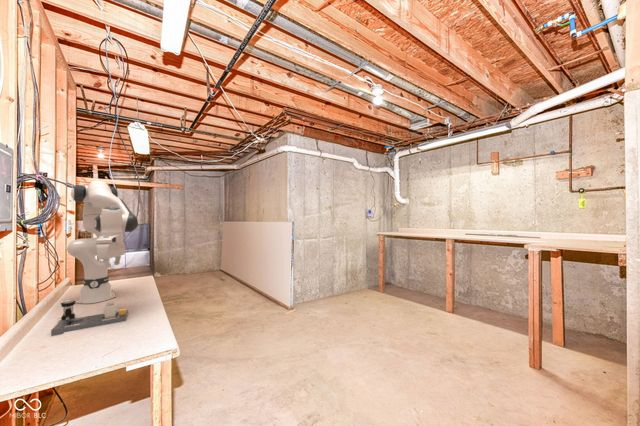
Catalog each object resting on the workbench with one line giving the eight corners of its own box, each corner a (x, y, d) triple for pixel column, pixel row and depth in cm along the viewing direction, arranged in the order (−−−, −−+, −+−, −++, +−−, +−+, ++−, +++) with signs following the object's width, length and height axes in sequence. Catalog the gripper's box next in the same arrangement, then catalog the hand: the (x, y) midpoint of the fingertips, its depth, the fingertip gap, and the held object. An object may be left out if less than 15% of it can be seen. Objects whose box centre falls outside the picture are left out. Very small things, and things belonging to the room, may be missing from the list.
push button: (55, 323, 126) (55, 303, 126) (59, 320, 131) (59, 300, 131) (74, 320, 130) (73, 300, 130) (76, 317, 134) (76, 298, 134)
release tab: (120, 317, 130) (120, 309, 130) (125, 316, 132) (125, 308, 132) (119, 318, 128) (119, 310, 128) (125, 317, 130) (125, 309, 130)
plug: (106, 320, 128) (106, 303, 128) (116, 318, 130) (116, 301, 130) (104, 323, 125) (104, 305, 125) (115, 321, 127) (115, 304, 127)
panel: (60, 326, 123) (60, 320, 123) (128, 315, 136) (128, 309, 136) (51, 337, 112) (51, 330, 112) (125, 323, 126) (125, 317, 126)
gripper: (114, 238, 140) (115, 263, 140) (93, 240, 121) (93, 270, 120) (128, 237, 142) (128, 262, 142) (109, 239, 122) (109, 268, 122)
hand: (112, 266), depth 131 cm, fingers open, 8 cm apart
